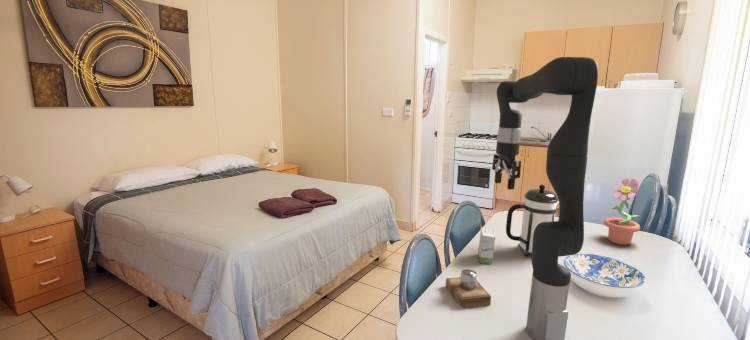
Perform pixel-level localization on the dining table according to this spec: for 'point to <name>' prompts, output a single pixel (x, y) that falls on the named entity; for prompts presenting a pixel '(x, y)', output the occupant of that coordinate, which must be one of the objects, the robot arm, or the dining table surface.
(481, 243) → the ink box
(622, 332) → the dining table surface
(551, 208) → the coffee press
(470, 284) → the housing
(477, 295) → the tray
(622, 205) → the decorative flower
